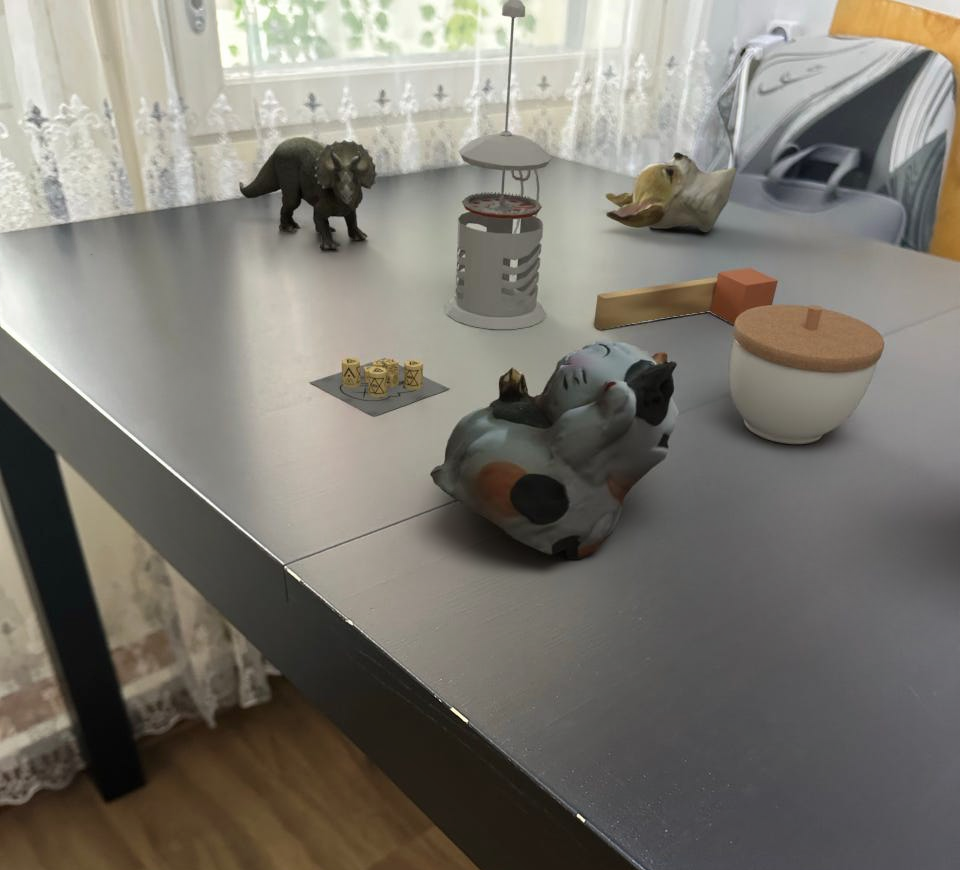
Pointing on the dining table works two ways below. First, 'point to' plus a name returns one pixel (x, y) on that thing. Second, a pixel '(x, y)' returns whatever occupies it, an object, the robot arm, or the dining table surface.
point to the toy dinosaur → (317, 183)
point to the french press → (500, 231)
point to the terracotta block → (741, 292)
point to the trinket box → (799, 370)
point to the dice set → (379, 384)
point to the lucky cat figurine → (564, 447)
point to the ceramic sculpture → (674, 196)
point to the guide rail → (654, 302)
